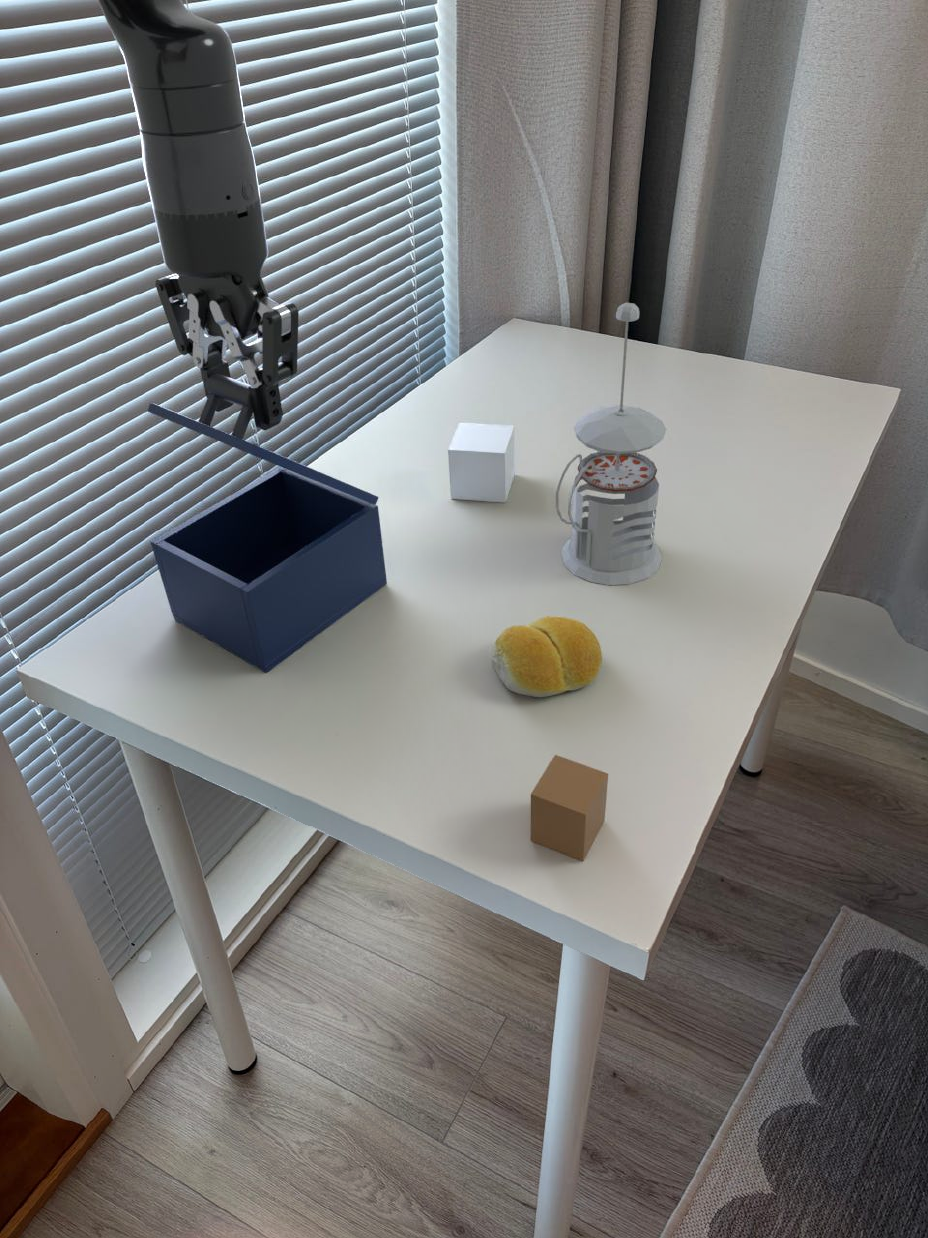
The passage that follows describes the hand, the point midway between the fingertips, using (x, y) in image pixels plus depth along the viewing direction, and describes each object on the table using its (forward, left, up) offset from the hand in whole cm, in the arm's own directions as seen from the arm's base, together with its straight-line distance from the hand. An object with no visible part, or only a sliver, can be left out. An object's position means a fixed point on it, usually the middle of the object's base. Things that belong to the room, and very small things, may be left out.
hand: (245, 415), depth 77 cm
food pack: (+15, -34, -19) cm, 42 cm away
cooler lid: (+1, +1, -5) cm, 5 cm away
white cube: (+24, +13, -19) cm, 33 cm away
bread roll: (+20, -17, -19) cm, 33 cm away
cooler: (0, 0, -19) cm, 19 cm away
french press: (+31, -4, -19) cm, 37 cm away
